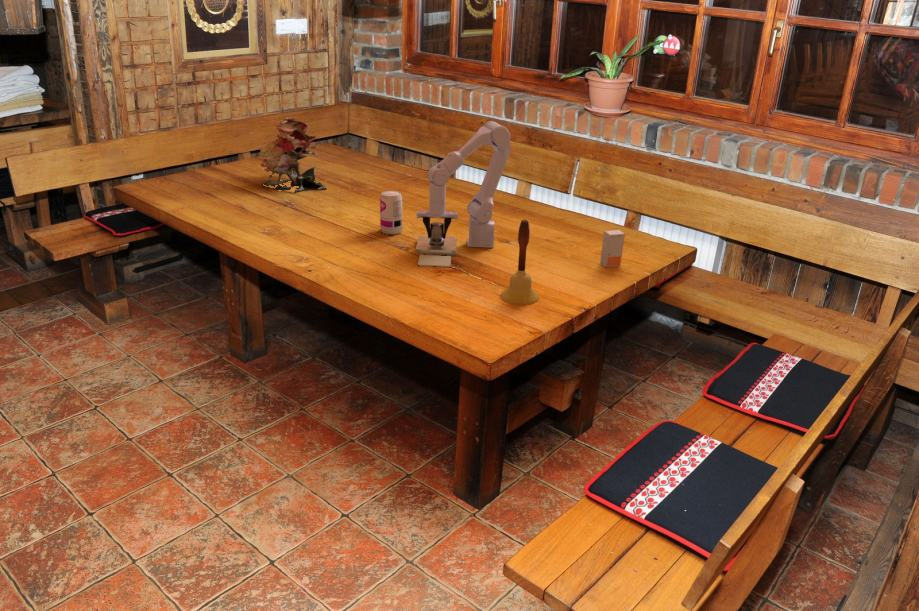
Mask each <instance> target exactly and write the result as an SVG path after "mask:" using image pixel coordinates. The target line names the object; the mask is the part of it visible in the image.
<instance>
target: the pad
mask: <svg viewBox="0 0 919 611" xmlns="http://www.w3.org/2000/svg"><path fill="white" fill-rule="evenodd" d="M451 261H452V256H441V255H419V257H418V262H417V266H418V265H419V266H418V267H433V266H437V267H438V268H439V267H440V268H451V263H452V262H451ZM437 267H436V268H437Z"/></svg>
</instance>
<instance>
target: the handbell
mask: <svg viewBox="0 0 919 611" xmlns="http://www.w3.org/2000/svg"><path fill="white" fill-rule="evenodd" d="M517 235H518V236H517V241H518V246H519V247H518V249H519V252H518V263H517V265H518V266H517V267H518V268H517V271H516V272H514V273H512V274H511V276H510V278H509V286H508V287H507V288H506V289H504V290H503V291H502V292H500V295H499V297H500V299H501V300H502V301H503V302H505V303H507V304H509V305H516V306H529V305H533V304H536V303H537V302H538V301H539V300H540V295H539V294H538V292H536V291H535V290H534V289H533V288H532V276H531V275H530V274H529V273H527V272H526V261H527V260H526V258H527V248H528V245H529V242H530V224H529V220H527V219H523V220H521V221H520V224H519V226H518V233H517Z"/></svg>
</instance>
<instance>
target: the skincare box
mask: <svg viewBox="0 0 919 611" xmlns="http://www.w3.org/2000/svg"><path fill="white" fill-rule="evenodd" d="M625 235H626V233H624V232H623V231H621V230H620V229H616V230H614V229H613V230H604V231H603V237H602V238H603V239H602V246H601V252H600V253H601V254H600V261H599V263H600V265H602V266H603V267H604V268H612V267H613V268H614V267H621V263H622V256H623V251H624V242H625V237H626V236H625Z"/></svg>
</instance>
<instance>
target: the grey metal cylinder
mask: <svg viewBox="0 0 919 611" xmlns="http://www.w3.org/2000/svg"><path fill="white" fill-rule="evenodd" d="M443 236H444V222H440V221H433V222H430V240H431V245H434V246H442V241H443V240H444V239H443Z"/></svg>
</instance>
